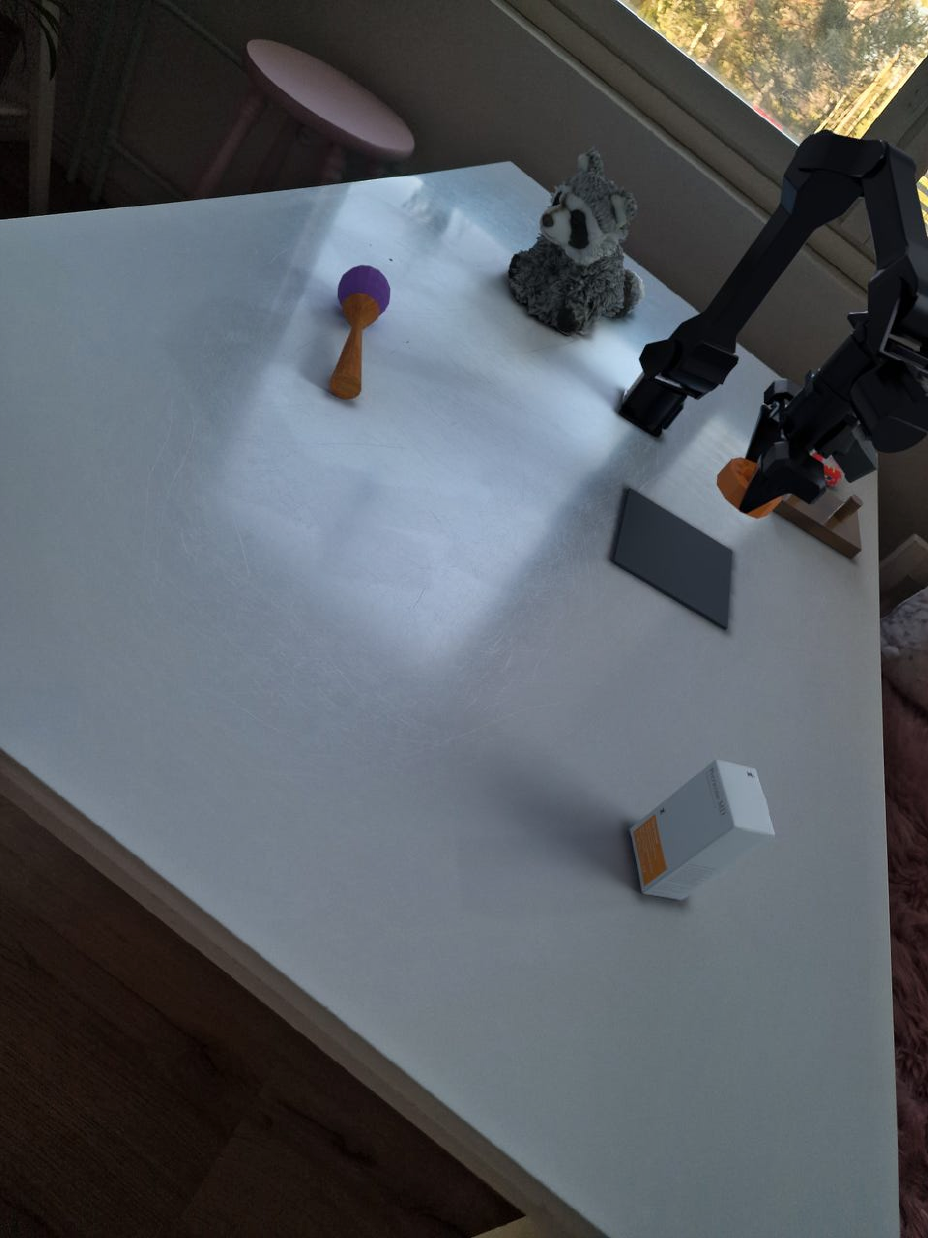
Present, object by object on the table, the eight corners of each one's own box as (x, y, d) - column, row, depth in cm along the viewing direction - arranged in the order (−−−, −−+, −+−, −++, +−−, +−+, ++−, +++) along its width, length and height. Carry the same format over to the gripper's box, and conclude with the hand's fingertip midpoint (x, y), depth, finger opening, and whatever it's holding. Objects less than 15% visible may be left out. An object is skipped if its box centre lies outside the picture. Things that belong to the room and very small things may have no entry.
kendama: (321, 355, 99) (346, 248, 112) (312, 401, 104) (336, 293, 116) (380, 371, 100) (398, 263, 113) (367, 415, 105) (386, 307, 118)
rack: (768, 507, 134) (795, 478, 130) (768, 469, 141) (794, 441, 138) (851, 559, 136) (880, 533, 132) (847, 519, 143) (875, 493, 140)
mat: (612, 562, 108) (614, 559, 108) (627, 489, 119) (629, 487, 119) (725, 630, 110) (727, 627, 110) (730, 552, 121) (732, 550, 121)
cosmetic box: (626, 828, 84) (714, 755, 76) (667, 837, 86) (757, 766, 78) (639, 896, 80) (733, 826, 72) (682, 903, 82) (778, 836, 74)
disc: (715, 496, 107) (730, 480, 106) (717, 463, 113) (731, 447, 111) (766, 528, 108) (781, 512, 107) (766, 493, 114) (781, 478, 112)
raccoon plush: (470, 281, 134) (550, 136, 120) (570, 248, 158) (647, 124, 144) (553, 353, 132) (645, 216, 118) (642, 309, 156) (727, 190, 142)
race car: (831, 495, 146) (850, 476, 143) (801, 474, 145) (820, 455, 143) (833, 453, 156) (851, 435, 153) (805, 434, 155) (823, 415, 153)
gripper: (915, 474, 94) (803, 578, 105) (896, 386, 108) (799, 485, 118) (820, 413, 93) (716, 525, 103) (813, 332, 107) (722, 437, 117)
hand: (742, 492), depth 110 cm, fingers closed on disc, 7 cm apart
